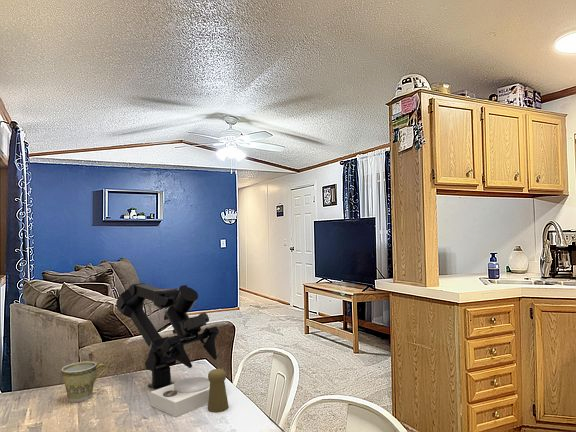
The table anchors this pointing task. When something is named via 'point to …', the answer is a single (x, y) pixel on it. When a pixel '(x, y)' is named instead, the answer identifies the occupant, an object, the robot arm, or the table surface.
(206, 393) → the kitchen scale
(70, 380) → the ceramic cup
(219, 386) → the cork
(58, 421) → the table surface
